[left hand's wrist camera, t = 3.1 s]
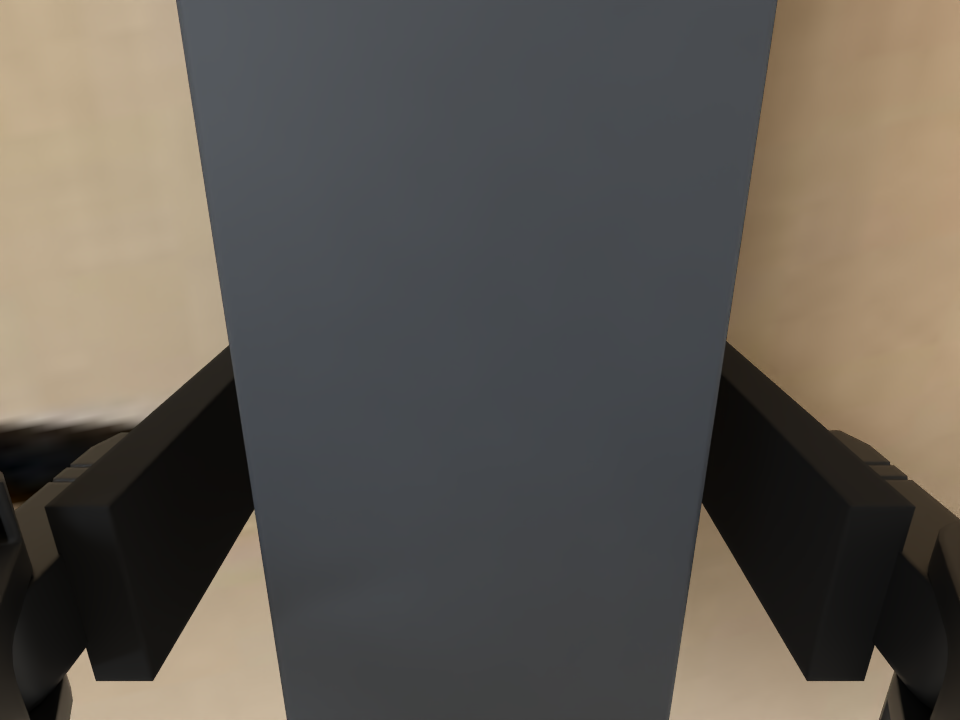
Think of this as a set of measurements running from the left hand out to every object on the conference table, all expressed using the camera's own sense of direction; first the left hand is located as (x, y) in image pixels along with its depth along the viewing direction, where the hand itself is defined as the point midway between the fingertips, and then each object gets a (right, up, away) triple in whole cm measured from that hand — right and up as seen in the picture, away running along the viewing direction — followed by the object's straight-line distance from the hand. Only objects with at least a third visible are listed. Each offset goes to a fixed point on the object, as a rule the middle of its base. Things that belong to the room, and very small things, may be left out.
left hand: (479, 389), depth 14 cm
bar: (0, +20, -7) cm, 21 cm away
